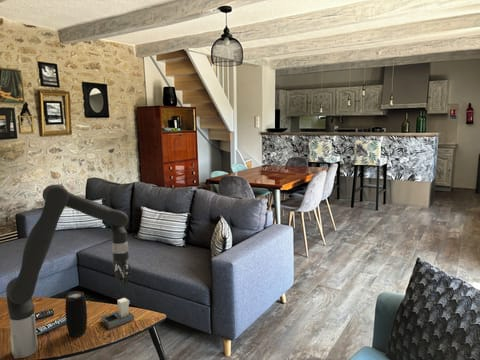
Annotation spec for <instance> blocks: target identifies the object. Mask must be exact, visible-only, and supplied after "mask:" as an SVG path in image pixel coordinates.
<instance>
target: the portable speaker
mask: <svg viewBox="0 0 480 360" xmlns="http://www.w3.org/2000/svg"><path fill="white" fill-rule="evenodd" d="M64 309H65V310H64V311H65V324H66V330H67V333H68V336H73V337H75V338H79V337H82V336H83V335H84V334H85V332H86V331H87V328H88V327H87V326H88V324H87V323H88V313H87V312H88V311H87V301H86V297H85V293H84V291H76V290H75V291H74V290H73V291H71V292H68V293H67V295H66V297H65V308H64Z"/></svg>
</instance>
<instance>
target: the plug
mask: <svg viewBox="0 0 480 360" xmlns="http://www.w3.org/2000/svg"><path fill="white" fill-rule="evenodd" d="M116 301H117V311H118V315H119V316H120V317H121V318H122V317H124V316H127V315H129V312H130V309H129V305H130V304H131V302H130V300H129V299H128V298H126V297H122V298H120V299H117V300H116Z"/></svg>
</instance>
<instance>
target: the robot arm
mask: <svg viewBox="0 0 480 360" xmlns="http://www.w3.org/2000/svg"><path fill="white" fill-rule="evenodd" d="M42 199H43V201H44V205H43V208H42V212H41V215H40V217H39V219H38V220H37V221H36V222H35V224H34V225H33V227H32V228H31V230H30V232H29V234H28V237H27V239H26V242H25V245H24V247H23V252H22V259H21V268H20V270H19V272H18V275H17V277H14V278H12V279H11V280H9V282H8V283H7V285H6V289H5V291H6V293H5V294H6V302H7V303H6V304H7V311H8V315H9V323H10V324H9V325H10V333H9V335H10V337H9V338H10V349H11V355H12V356H13V359H14V360H16V359H23V358H24V359H25V358H27V357H30V356H32V355H34V354H35V353H36V352H37V351H38V339H37V328H36V327H37V326H36V313H35V305H34V302H33V295H34V293H35V289H36V285H37V281H38V277H39V274H40V272H41V269H42V266H43V264H44V262H45V259H46V257H47V254H48V252H49V249H50V247H51V244H52V241H53V238H54V235H55V233H56V229H57V226H58V223H59V221H60V217H61V215H62V214H63V211H64V210H65V208H69V209H71V210H72V209H73V210H75V211H77V212H80V213H82V214H84V215H86V216H89V217H92V218H94V219H97V220H101V221H105V222H107V223H109V225H110V229H111V232H112V233H111V235H112V236H111V237H112V246H111V247H112V266H113V267H112V268H113V270H114V272H115V279H116V280H118V279H119V280H120V279H121V275H122V284H123V285H128V284H129V277H131V270H130V269H131V266H130V264H129V263H128V264H127V261H128V260H129V258H130V256H129V253H130V252H129V243H128V232H127V229H126V228H125V226H126V225H128V223H129V215H127V213H125V212H123V211H121V210H119V209H114V208H111V207H109V206H107V205H105V204H102V203H101V202H100V203H99V202H97V201H94V200H92V199H91V200H90V199H88V198H84V197H81V196H78V195H76V194H74V193H72V192H70V191H68V190H67V188H65V187H63V186H61V185H59V184H50V185H47V186H46V187H45V188H44V189H43V190H42Z"/></svg>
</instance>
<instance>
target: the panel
mask: <svg viewBox="0 0 480 360" xmlns="http://www.w3.org/2000/svg"><path fill="white" fill-rule="evenodd" d="M133 321H135V314H133V313H131V312H130V311H129V315H127V316H124V317H122V318H121V317H120V316H119V315H118V310H116V311H114V312H110V313H108V314H104V315H102V316H100V322H101V323H102V324H103V325H104V326H105V327H106V328H107V329H109V330H112V329H114V328H116V327H119V326H122V325H125V324H127V323H129V322H133Z"/></svg>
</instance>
